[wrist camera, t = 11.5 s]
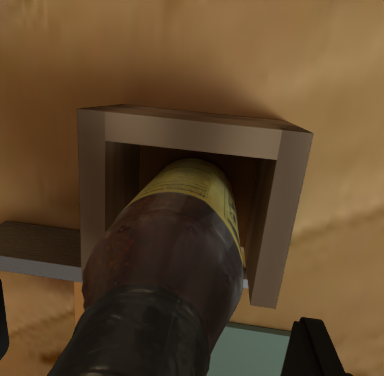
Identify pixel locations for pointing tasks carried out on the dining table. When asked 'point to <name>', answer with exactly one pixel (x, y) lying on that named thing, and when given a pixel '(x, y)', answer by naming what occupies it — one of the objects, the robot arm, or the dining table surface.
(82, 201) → the cradle
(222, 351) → the mat
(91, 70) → the dining table surface
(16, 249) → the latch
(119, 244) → the sauce bottle
